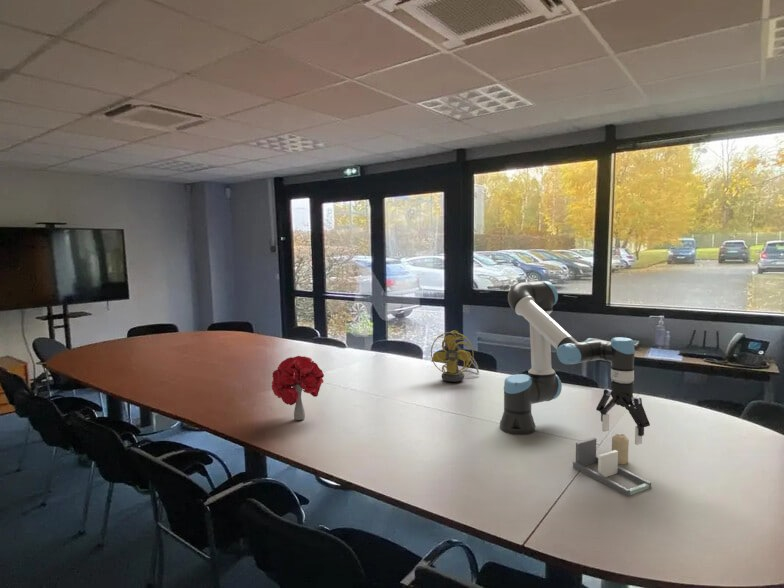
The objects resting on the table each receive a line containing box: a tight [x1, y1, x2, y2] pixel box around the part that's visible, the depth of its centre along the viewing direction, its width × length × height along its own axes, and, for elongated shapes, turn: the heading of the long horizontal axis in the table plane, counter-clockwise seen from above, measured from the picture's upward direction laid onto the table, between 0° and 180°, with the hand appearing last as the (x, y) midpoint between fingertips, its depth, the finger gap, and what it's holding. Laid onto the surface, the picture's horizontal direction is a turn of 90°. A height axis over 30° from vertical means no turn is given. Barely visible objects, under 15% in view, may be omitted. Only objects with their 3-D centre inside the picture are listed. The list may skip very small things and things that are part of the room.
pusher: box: [597, 450, 619, 478], centre depth 157 cm, size 1×8×8 cm, turn 115°
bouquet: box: [271, 355, 325, 421], centre depth 215 cm, size 22×24×30 cm
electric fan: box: [430, 330, 480, 383], centre depth 280 cm, size 26×32×30 cm
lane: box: [572, 437, 652, 497], centre depth 156 cm, size 22×11×9 cm, turn 25°
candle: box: [611, 433, 630, 465], centre depth 167 cm, size 6×6×10 cm
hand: (621, 437), depth 166 cm, fingers open, 13 cm apart
